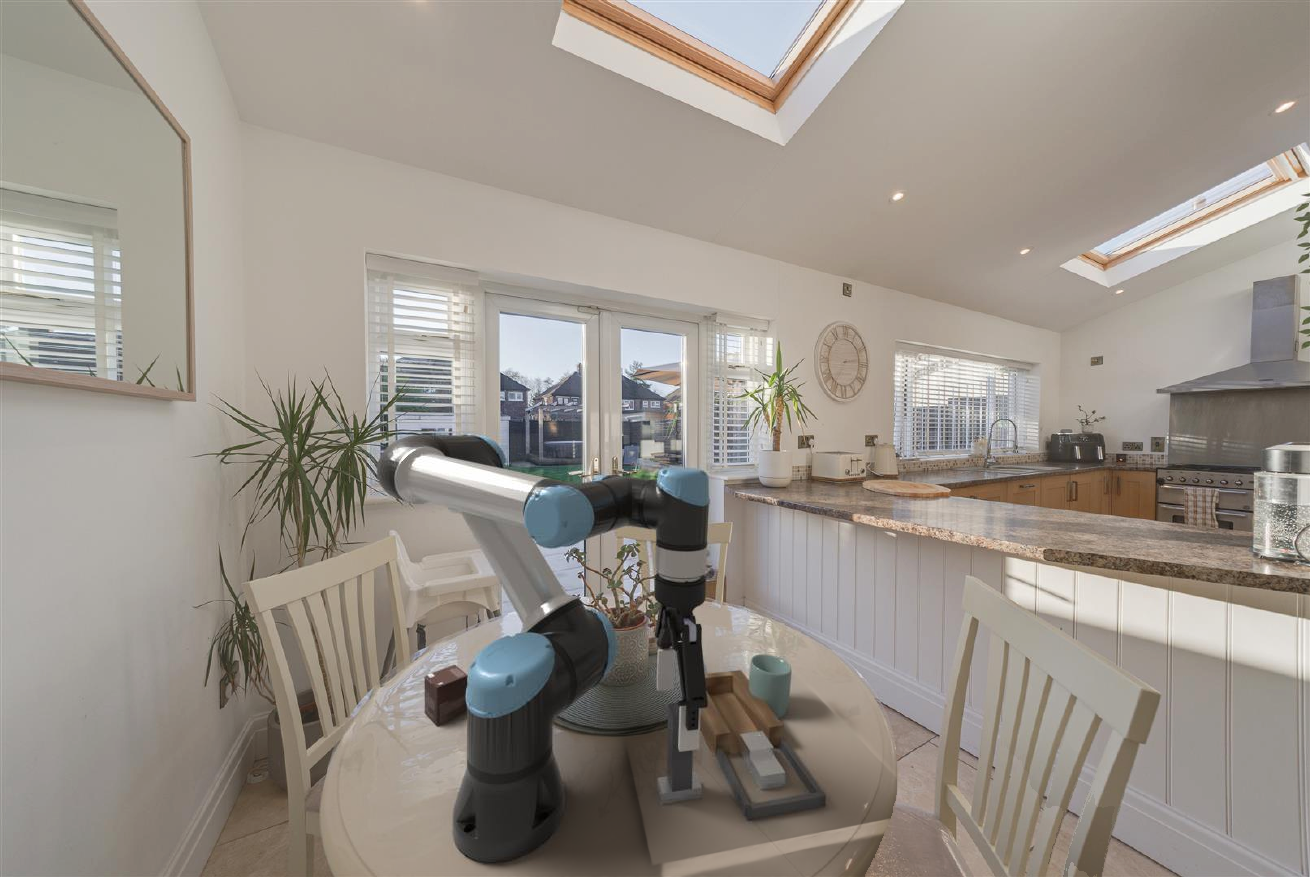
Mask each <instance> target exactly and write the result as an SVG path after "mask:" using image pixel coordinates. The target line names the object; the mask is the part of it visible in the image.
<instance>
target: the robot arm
mask: <svg viewBox="0 0 1310 877" xmlns="http://www.w3.org/2000/svg"><path fill="white" fill-rule="evenodd" d="M506 463H507V458H506V456H505V453H504V451H503V449H502V448H501V446H500V445H499V444H498V443H497V442H496V441H495V440H493V439H492V438H491V437H487V436H484V435H477V434H472V433H471V434H470V433H465V434H460V435H453V434H452V435H446V434H445V435H442V434H439V435H438V434H436V435H435V434H429V435H427V434H415V435H410V436H409V435H408V436H405V437H402V438H400V439H397V440H396V441H394V442H392V443H391V444H389V445H388V446H387V447H386V448H385V449H384V451H382V453H381V455H380V456H379V460H378V461H377V466H376V475H377V480H378V482H379V485H380V486H381V488H382V489H383V490H384V491H385V492H386V493H387V494H388V495H389V496H390V497H393V498H395V499H397V500H400V501H402V502H406V503H409V504H412V505H424V504H425V505H426V504H428V503H433V504H436V505H438V506H443V507H446V508H448V511H449V512H451V513H454V514H460V515H462V518H463V520H464V522H466V525H467V527H468V529H469V530H470V532H471V534H472V536H473V537H474V539H475V541H476V543H477V545H478V547H479V548H480V550H481V552H482V553H483V556H484V557H485V559H486V561H487V562H488V564H489V565H490V568H491V569H492V570H493V573H494V574H495V576H496V578H497V580H498V582H499V583H500V585H501V587H502V588H503V591H504V592H505V594H506V596H507V598H508V600H509V601H510V603H511V605H512V607H513V608H514V611H515V612H516V614H517V615H518V618H519V619H520V621H521V623H522V628H521V630H520V632H518V633H515V634H514V635H512V636H510V635H506V636H503V637H500V638H498V639H496V640H494V641H492V642H491V643H489V644H488V645H486V646H485V647H483V649H481V650H480V651H479V652H478V653H477V654H476V656H475V657H474V658H473V660H472V662H471V663H470V666H469V669H468V674H467V675H468V678H467V681H468V685H467V689H466V703H467V712H466V769H465V771H464V775H463V778H462V781H461V784H460V787H459V790H458V792H457V796H456V799H455V802H454V805H453V812H452V838H453V840H454V843H455V845H456V847H457V849H458V850H459V851H460V852H461V853H462V854H464V855H465V856H466V855H467V857H468V858H471V859H472V860H475V861H478V862H484V861H485V862H484V863H499V862H506V861H510V860H513V859H517V858H520V857H523V856H525V855H526V854H528V853H530V852H532V851H534V850H536V848H537V847H539V846H541V845H542V844H543V843H544V842H545V841H546V840H548V838H549V837H550V836H551V835H552V834H553V833H554V831H555V830H556V829H557V827H558V825H559V824H560V822H561V820H562V817H563V814H564V810H565V785H564V784H565V783H564V779H563V777H562V773H561V771H560V768H559V765H558V762H557V759H556V756H555V753H554V751H553V750H554V749H553V746H554V744H553V740H554V738H553V736H554V735H553V734H554V728H553V727H554V721H555V719H556V718H558V717H559V716H560V715H561V714H563V713H564V711H566V710H568V709H569V708H570V707H571V706H572V705H573V704H575V703H576V702H577V701H578V700H580V699H581V698H582V697H584V696H585V694H587V693H588V692H589V691H590V690H592V689H593V688H595V687H596V686H598V685H599V684H600V683H601V682H602V681H603V680H604V678H605V677H606V676H607V675H609V673H610V672H611V670H612V669H613V667H614V665H615V663H616V659H617V652H618V639H617V634H616V631H615V629H614V626H613V624H612V622H611V620H610V619H609V617H607V616H606V615H605V614H604V613H603V612H601V611H598V610H596V609H594V608H586V606H585V605H584V604H583V602H582V600H581V598H580V597H579V596H576V595H571V594H567V593H566V591H565V590H564V588H563V586H562V585H561V583H560V581H559V580H558V577H557V576H556V575H555V573H554V571H553V570H552V568H551V566H550V565H549V564H548V561H547V560H546V559H545V557H544V555H543V553H542V551H541V550H540V548H539V547H538V546H540V547H542V548H543V549H558V548H562V547H566V548H567V547H571V546H574V545H577V544H579V543H580V542H583V541H584V540H587V539H590V538H595V537H597V536H599V535H603V534H605V533H608V532H609V533H610V532H611V531H614V530H618V529H621V528H623V527H633V528H640V529H647V530H655V537H656V538H655V551H654V552H655V555H654V558H655V559H654V570H655V572H656V574H655V575H654V593H653V597H654V599H655V600H656V602H657V603H659V608H658V614H657V619H656V625H655V631H654V638H655V639H657V641H656V645H657V648H659V649H657V663H656V664H657V665H656V691H657V692H663V691H672V690H673V691H674V689H675V688H674V686H675V660H677V666H678V667H677V668H678V675H679V684H680V690H681V697H682V699H679V700H678V701H677V702H676V703H677V704H678V706H680V709H679V738H678V749H679V751H680V752H682V751H690V750H693V751H696V750H697V751H698V750H700V743H701V742H700V740H701V739H700V738H701V737H700V736H701V735H700V734H701V730H700V715H701V708H707V706H708V701H707V692H706V682H705V674H706V673H705V665H704V664H705V662H704V654H703V642H702V640H703V638H702V637H703V635H702V633H703V627H702V624H701V623H697V619H696V615H694V610H695V609H696V608H697V607H700V606H702V605H703V604H704V602H706V595H707V594H706V593H707V591H706V590H707V589H706V588H707V577H706V576H705V574H706V572H707V558H708V557H710V555H711V554H710V553H711V552H710V550H708V529H709V513H710V512H709V511H710V510H709V509H710V504H711V503H710V502H711V498H710V486H709V483H710V482H709V480H710V479H709V475H708V474H707V472H706V471H705V470H703V469H700V468H694V467H680V466H679V467H678V466H677V467H676V466H675V467H674V466H673V467H662V468H661V469H660V470H659V471H658V474H657V478H655V479H650V478H641V477H633V476H624V475H623V476H622V475H620V474H598V475H596V476H594V477H593V479H592V480H590V481H585V482H579V483H575V482H574V483H572V482H567V481H564V480H563V481H561V480H557V479H552V478H550V477H549V478H548V477H543V476H539V475H534V474H530V473H525V472H520V471H516V470H511V469H508V467H507V466H506ZM676 658H677V659H676Z"/></svg>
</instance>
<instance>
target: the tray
mask: <svg viewBox="0 0 1310 877" xmlns="http://www.w3.org/2000/svg"><path fill="white" fill-rule="evenodd" d="M779 750H780V751H781V753H782V754H783V756H784V757H785V758H786V760H787V761H788V763H789V764H790V766H791V767H792V768H793V770H794V772H795V773H796V775H797V776H798V777H799V778H800V780H801V782H802V783H803V784H804V786H805V787H806V789H807V790H808V791H809V792H808V793H805V794H800V795H795V796H794V795H793V796H788V797H783V798H782V797H781V798H776V799H771V800H766V801H760V802H755V803H750V801H749V799H748V797H747V795H746V793H745V791H744V789H743V787H742V785H741V783H740V781H739V780H738V778H737V776H736V774H735V771H734V769H733V768H732V766H731V764H730V762H729V760H728V758H727V756H726V755H725V754H724V752H723V750H722V748H719V749H717V756H716V759H717V761H718V763H719V766H720V767H721V770H722V772H723V774H724V776H725V778H726V780H727V782H728V784H729V786H730V788H731V790H732V793H733V795H734V796H735V799H736V801H737V802H738V805H739V807H740V809H741V811H742V813H743V816H744V817H745V820H746V821H747V822H748V821H754V820H755V821H756V820H759V819H765V818H769V817H775V816H776V817H777V816H780V815H787V814H791V813H792V814H793V813H798V812H803V811H809V810H814V809H820V808H824V807H826V806H827V805H826V801H827V798H826V797H827V796H826V794H825V793H824V791H823V790H822V789H821V787H820V785H818V783H817V781H816V780H815V779H814V777H813V776H812V775H811V773H810V772H809V770H808V769H807V768H806V767H805V765H804V764H803V763H802V761H801V760H800V759H799V757H798V756H797V754H796V753H795V752H794V750H793V749H792V747H791V746H790V744H788V741H786V739H785V738H783V739H781V740H780V747H779Z"/></svg>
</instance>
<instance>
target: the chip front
mask: <svg viewBox="0 0 1310 877" xmlns="http://www.w3.org/2000/svg"><path fill="white" fill-rule="evenodd" d="M748 770H749V772H750V774H751V775H752V778H753V779H754V781H755V782H756V784H757V787H758V788H759V790H760V791H764V790H767V789H775V788H781V787H785V786H786V771H785V770H784V768H783V767H782V764H780V762H779V761H778V759H777V758H776V756H775V753H773V754H767V755H760V756H754V757H750V765H749V767H748Z"/></svg>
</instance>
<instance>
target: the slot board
mask: <svg viewBox="0 0 1310 877" xmlns="http://www.w3.org/2000/svg"><path fill="white" fill-rule="evenodd" d="M705 682H706V692H707V701H708V706H707V708H701V715H700V733H701V735H702V736H703V738H704V740H705V743H706V745H707V747H708V748H709V749H708V750H709V751H710V754H711V755H712V757H717V749H719V748H722V750H723V752H724V754H725V756H726V755H733V754H737V753H740V734H744V733H752V732H759V731H763V733H764V734H765V736H766V737H767V739H768V740H769V742H770V743H771V744H772V746H773V747H774V748H780V740H781V739H784V737H783V736H784V725H783V723H782V722H781V720H779V719H780V718H777V717H776V716H775V714H774V713H773V712H772V710H771V709H770V708H769V706H768V705H767V704H766V702H765V701H764V700H762V699H759V698H757V697H755V696H754V695H752V694H751V692H750V691H749V678H747V676H746V675H745V673H744V671H742V670H741V669H739V670H730V671H720V672H711V673H709V672H708V673H705ZM740 754H741V753H740Z"/></svg>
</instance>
